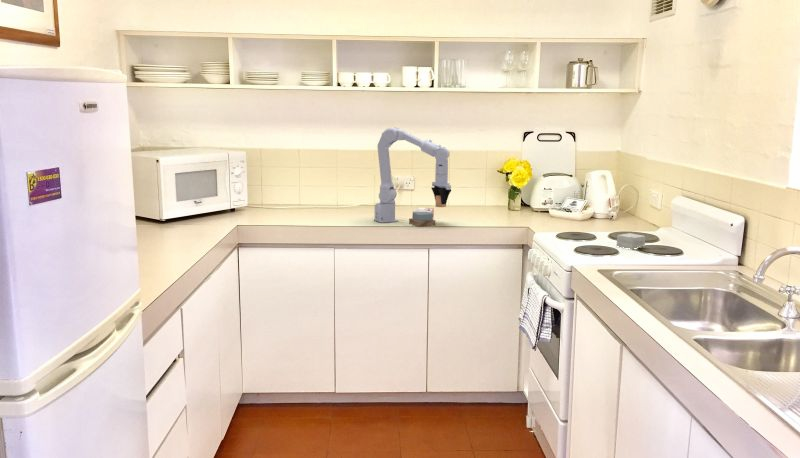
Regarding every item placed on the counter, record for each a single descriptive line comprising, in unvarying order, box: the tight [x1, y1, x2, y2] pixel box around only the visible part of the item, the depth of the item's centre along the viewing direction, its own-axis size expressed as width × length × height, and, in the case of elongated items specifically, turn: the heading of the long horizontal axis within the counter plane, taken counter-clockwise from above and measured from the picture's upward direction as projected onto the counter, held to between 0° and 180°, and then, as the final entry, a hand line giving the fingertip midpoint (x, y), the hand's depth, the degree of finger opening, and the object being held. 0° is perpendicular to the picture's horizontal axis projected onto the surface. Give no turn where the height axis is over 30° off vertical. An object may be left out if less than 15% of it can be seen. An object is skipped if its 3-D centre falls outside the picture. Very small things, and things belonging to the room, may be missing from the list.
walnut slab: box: [408, 218, 436, 228], centre depth 314 cm, size 9×9×3 cm
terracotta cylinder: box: [435, 195, 447, 208], centre depth 314 cm, size 5×5×5 cm
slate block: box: [412, 211, 434, 221], centre depth 313 cm, size 7×7×3 cm
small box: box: [616, 232, 646, 249], centre depth 270 cm, size 8×8×5 cm
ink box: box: [411, 207, 435, 218], centre depth 327 cm, size 8×5×12 cm
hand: (440, 203), depth 314 cm, fingers closed on terracotta cylinder, 5 cm apart
